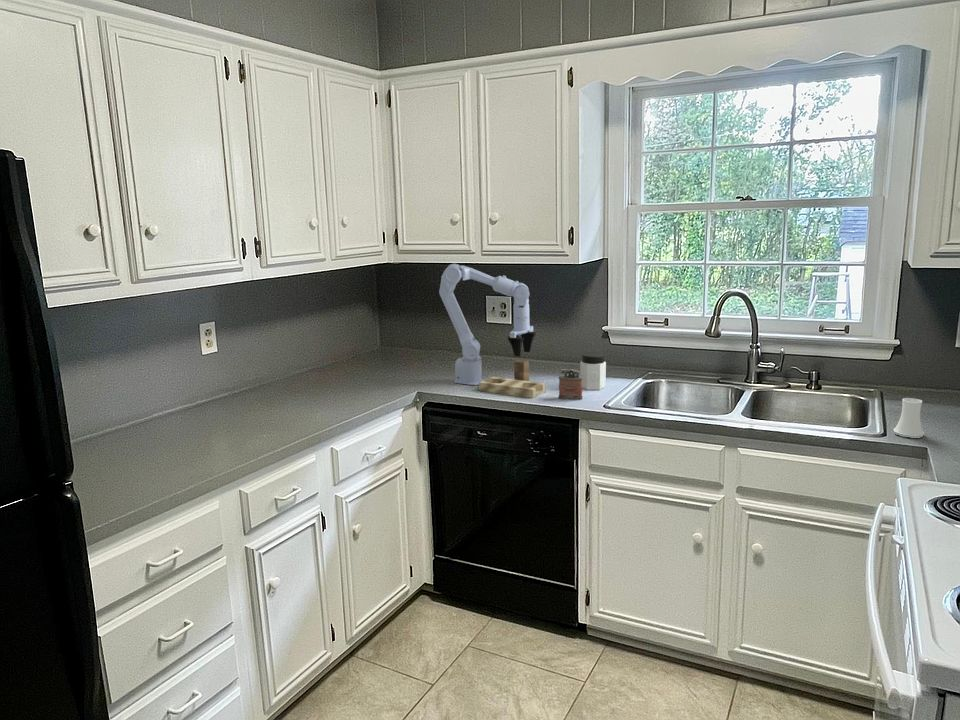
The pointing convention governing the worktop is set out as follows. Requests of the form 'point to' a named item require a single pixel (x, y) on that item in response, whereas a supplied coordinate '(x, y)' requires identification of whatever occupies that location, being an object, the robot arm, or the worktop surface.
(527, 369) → the peg
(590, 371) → the jar
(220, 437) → the worktop surface
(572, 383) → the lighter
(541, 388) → the wooden tray with recesses
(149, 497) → the worktop surface
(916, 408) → the white flared vase
